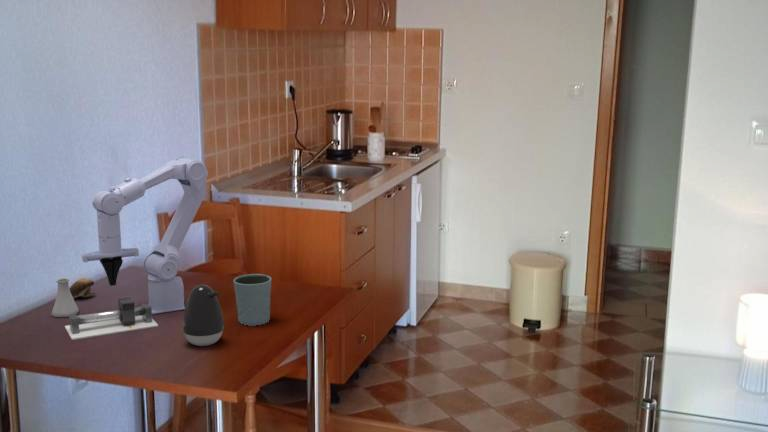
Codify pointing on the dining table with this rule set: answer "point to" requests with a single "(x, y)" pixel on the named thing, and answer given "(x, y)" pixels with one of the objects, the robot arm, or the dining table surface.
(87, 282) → the mushroom
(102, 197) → the robot arm
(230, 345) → the dining table surface
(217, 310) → the dark grey penguin toy
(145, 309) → the linear slide rail
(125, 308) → the dark grey sliding block
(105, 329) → the base board
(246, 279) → the grey-green cup
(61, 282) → the flask
